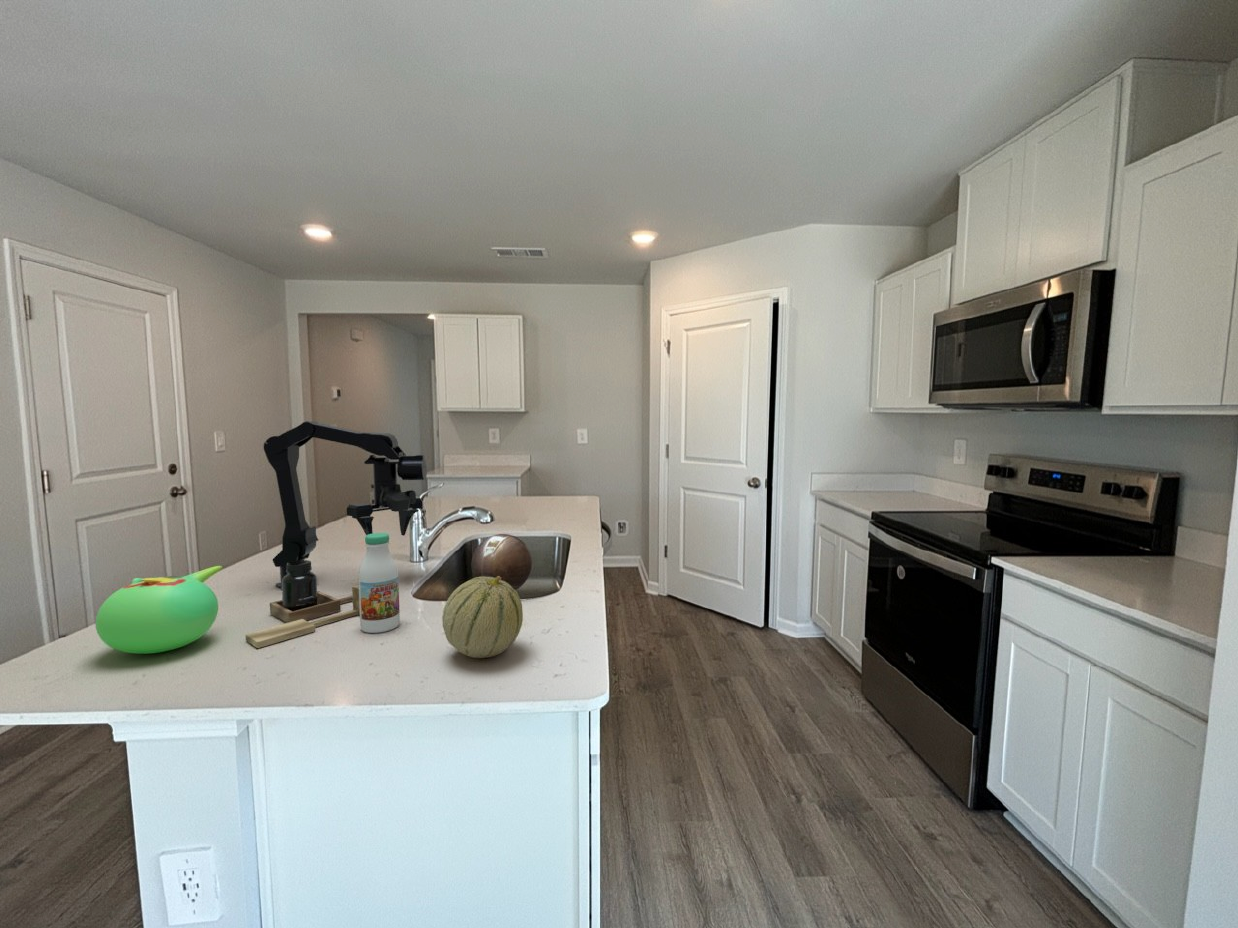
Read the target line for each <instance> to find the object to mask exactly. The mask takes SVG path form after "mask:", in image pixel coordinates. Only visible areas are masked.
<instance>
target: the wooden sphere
mask: <svg viewBox="0 0 1238 928" xmlns="http://www.w3.org/2000/svg"><path fill="white" fill-rule="evenodd" d="M470 563H471V566H470V567H471V572H472V577H473V578H476V577H493V578H496V577H497V576H500V577H501V580H502V581H505V582H506V583H508V584H509V585H510V586H511V587H512V588H513V589H514V590H515V591H517V590H519V589H520V588H521V587H522V586H524V584H525V583H526V582H527V580H528V578H529V577H530V574H531V572H532V565H533V560H532V554H531V552H530V550H529V547H528V546H527V545H526V543H525V542H524V541H522V540H521V539H520V538H518V537H517V536H514V535H511V534H508V533H507V534H506V533H499V534H494V535H491V536H489V537H486V538H485V539H484V540H483V541H482V542H480V543H479V544H478V546H477V547H476V548H475V549H474V552H473V554H472V558H471V562H470Z"/></svg>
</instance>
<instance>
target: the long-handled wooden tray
mask: <svg viewBox="0 0 1238 928" xmlns="http://www.w3.org/2000/svg"><path fill="white" fill-rule="evenodd" d="M351 588H352V589H351V590H352V595H353V601H352V610H349V611H345V612H342V613H338V614H335V615H330V616H327V617H323V618H320V619H316V620H313V621H310V622H309V621H308V620H304V619H300V620H296V621H293V622H289V623H286V622H285V623H283V624H278V625H275V626H272V627H268V628H264V629H261V630H257V631H253V632H250V633H249V632H248V633H246V634H245V635H244V637H245V641H246V642H248V643H249V644H250V645H252V646H253V647H255V648H257V649H260V648H264V647H266V646H269V645H273V644H276V643H279V642H280V643H281V642H283V641H286V640H291V639H293V638H297V637H300V636H304V635H307V634H310V633H314V632H316V628H317V627H320V626H324V625H326V624H331V623H333V622H337V621H340V620H344V619H348V618H351V617H355V616H358V615H359V616H360V606H359V584H357V585H353V586H352V587H351Z"/></svg>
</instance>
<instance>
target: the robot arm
mask: <svg viewBox="0 0 1238 928" xmlns="http://www.w3.org/2000/svg"><path fill="white" fill-rule="evenodd" d="M314 438H315V439H320V440H324V441H330V442H334V443H340V444H345V445H350V446H354V447H357V448H360V449H362V450H364V451H365V452H367V453H371V455H369V457H367V459H366V460H365V461H364V463H363V464H365V465H372V470H373V483H372V484H371V485H370V488H371V489H373V499H371V504H369V503H364V502H358V503H352V504H350V503H349V505H348V506H347V507H346V516H348V517H352V519H356V521H357V522H358V523H359V525H360V527H361V528H362V530H363V532H364V534H365V536H366V535H369V534H373V520H374V518H375V517H374V516H371V515H372V514H373V513H374V512H383V511H387V510H390V511H391V512H394V513H395V512H397V513H398V519H399V530H400V535H401V536H404V537H405V535H406V532H407V530H408V527H409V525H410V521H411V519H412V517H413V516H414V514H416V513H418V512H420V511H419V510H420V509H424V501H423V499H422V498H421V497H417V493H416V491H415V490H413V489H412V490H411V489H409V490H406V491H402V489H401V485H400V483H399V484H398V477H399V478H401V480H402V481H426V479H427V476H428V475H427V474H428V466H427V463H426V459H425V455H424V454H417V455H407V454H406V453H405V452H404V451H403V449H402V448H401V447H400V446H399V442H398V439H397V438H396V436H395V435H394V434H392V433H390V432H389V433H387V432H365V431H364V432H361V431H356V430H353V429H348V428H343V427H339V426H333V425H330V424H329V425H328V424H325V423H319V422H318V421H313V420H312V421H304V422H302V423H300V424H298V425H297V426H296V427H294V428H291V429H289V430H287V431H285V432H283V433H282V434H280V435H274V436H270V437H268V438H267V439H266V441H264V443H263V451H264V453H265V456H266V459H267V462H268V463H269V465H270V466H271V468H272V469H273V470H274V473H275V475H276V476H275V477H276V482H277V487H278V488H277V489H278V492H279V498H280V502H281V508H282V515H283V519H284V520H283V521H284V529H283V533H282V538H281V542H282V543H281V545H282V546H281V550H280V552H279V553H277V554H276V555H275V556H274V557H273V558H272V563H273V564H274V567H276V568H277V567H278V568H279V574H280V575H279V577H280V582H277V583H275V587H278V588H280V589H282V579H283V577H284V576H286V575H287V574H288V573H287V572H286V570H287V563H289V562H293V561H299V560H307V559H309V557H310V555H311V553H312V552H313V551H314V550H315V549H316V547H317V542H318V541H319V538H318V535H317V528H316V526H315V525H312V526H310V525H309V524H308V522H307V520H306V516H305V510H304V505H303V499H302V494H301V493H302V492H301V488H300V482H299V478H298V477H299V476H298V471H297V468H298V467H297V466H298V463H299V459H300V448H301V447H303V446H304V445H306V444H307V443H309V442H310V441H311V440H312V439H314ZM377 456H378V457H377Z"/></svg>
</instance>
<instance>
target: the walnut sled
mask: <svg viewBox="0 0 1238 928" xmlns="http://www.w3.org/2000/svg"><path fill="white" fill-rule="evenodd" d="M350 602H353V594H352V595H349V596H346V597H342V598H336V597H334V596H331V595H329V594H327V593H324V592H322V591H319V590H317V604H318V605H316V606H312V607H308V608H304V609H300V610H296V611H293V612H292V611H290V610H288V609H286V608H284V607H283V605H282V599H281V600H277V601H272V602H269V614H270V615H272V616H273V617H275V618H278V619H279V620H281V621H283V623H284V622H285V623H289V622H293V621H296V620H300V619H304V620H306V621H309V620H313V619H317V618H320V617H324V616H327V615H330V614H335V613H337V612H341V611H342V610H341V605H342V604H346V603H350Z"/></svg>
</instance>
